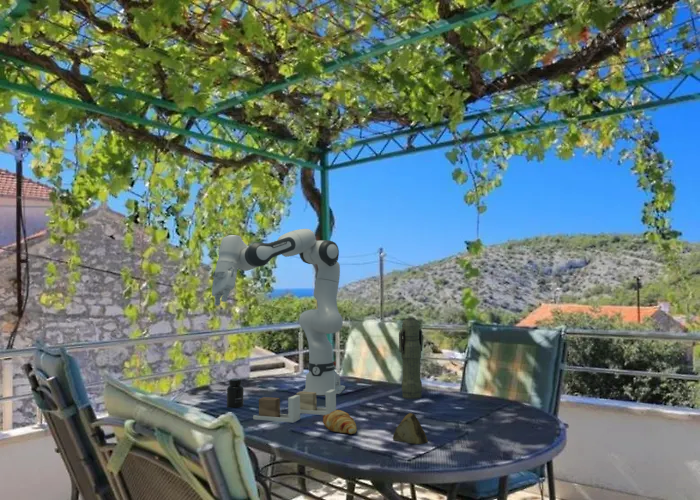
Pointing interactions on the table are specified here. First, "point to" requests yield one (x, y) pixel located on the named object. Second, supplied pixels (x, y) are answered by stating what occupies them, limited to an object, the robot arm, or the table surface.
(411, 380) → the thermos
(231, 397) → the supplement bottle
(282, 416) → the grey l-shaped bracket
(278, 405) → the brown wooden block
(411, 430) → the rock
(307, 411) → the white l-shaped piece
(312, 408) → the tan wooden block
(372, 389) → the table surface
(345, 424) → the croissant
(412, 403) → the table surface
